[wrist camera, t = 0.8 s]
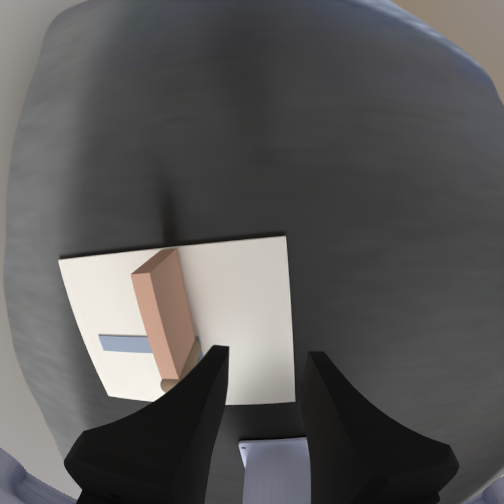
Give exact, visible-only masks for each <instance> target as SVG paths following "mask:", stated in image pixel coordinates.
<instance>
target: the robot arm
mask: <svg viewBox="0 0 504 504" xmlns="http://www.w3.org/2000/svg"><path fill="white" fill-rule="evenodd" d="M228 379H229V346H222V345H213V346H211V348H210V349H209V350H208V352H207V353H206V354H205V355H204V357H203V358H202V359H201V360H200V361H199V362H198V364H197V365H196V366H195V367H194V368H193V369H192V370H191V371H190V372H189V373H188V374H187V375H186V376H185V377H184V378H183V379H182V380H181V381H179V382H178V383H177V384H176V385H175V386H174V387H173V388H171V389H170V390H169V391H168V392H166V393H165V394H164V395H162V396H161V397H160V398H158V399H157V400H155V401H154V402H152V403H150V404H149V405H147V406H146V407H144V408H142V409H141V410H139V411H137V412H135V413H133V414H131V415H129V416H126V417H124V418H122V419H120V420H117V421H115V422H112V423H109V424H107V425H103V426H100V427H97V428H93V429H90V430H86V431H83V432H82V434H81V435H80V436H79V437H78V439H77V440H76V442H75V443H74V445H73V446H72V448H71V450H70V451H69V453H68V455H67V456H66V458H65V460H64V466H65V468H66V470H67V471H68V473H69V474H70V476H71V477H72V478H73V479H74V481H75V482H76V483H77V484H78V485H79V486H80V488H81V489H82V492H81V495H80V497H79V498H78V500H76V499H74V498H72V497H70V496H68V495H66V494H63V493H62V492H60V491H58V490H56V489H55V488H53V487H51V486H49V485H47V484H46V483H44V482H42V481H41V480H39V479H37V478H36V477H34V476H32V475H31V474H29V473H28V472H26V470H25V469H24V467H23V466H22V465H21V464H20V463H19V462H18V461H17V460H16V459H15V458H14V457H12V456H11V455H10V454H8V453H7V452H5V451H4V450H3V449H1V448H0V504H204V502H205V494H206V488H207V481H208V474H209V468H210V462H211V456H212V452H213V447H214V444H215V440H216V437H217V433H218V430H219V426H220V423H221V419H222V415H223V412H224V408H225V404H226V397H227V390H228ZM301 409H302V416H303V421H304V427H305V433H306V437H301V438H290V439H275V440H247V441H240V442H239V449H240V452H241V456H242V460H243V463H244V467H245V479H244V490H243V501H242V504H436V503H438V502H439V501H440V497H439V495H438V492H439V491H440V490H441V489H442V488H443V487H444V486H445V485H446V484H447V483H448V482H449V481H450V480H451V479H452V478H453V477H454V476H455V475H456V473H457V471H458V469H459V463H458V461H457V459H456V457H455V455H454V453H453V451H452V449H451V447H450V445H447V444H444V443H441V442H438V441H436V440H433V439H430V438H427V437H425V436H423V435H421V434H419V433H416V432H414V431H412V430H410V429H408V428H407V427H405V426H403V425H401V424H400V423H398V422H396V421H395V420H393V419H392V418H390V417H389V416H387V415H386V414H384V413H383V412H382V411H380V410H379V409H378V408H377V407H375V406H374V405H373V404H371V403H370V402H369V401H368V400H367V399H366V398H365V397H364V396H363V395H362V394H360V393H359V392H358V391H357V390H356V389H355V388H354V387H353V386H352V385H351V383H350V382H349V381H348V380H347V379H346V378H345V377H344V376H343V374H342V373H341V372H340V371H339V370H338V369H337V367H336V366H335V365H334V364H333V362H332V361H331V360H330V359H329V357H328V356H327V355H326V354H325V353H324V352H310V351H309V353H308V358H307V362H306V367H305V372H304V376H303V381H302V385H301ZM461 504H504V476H503V477H501V478H499V479H498V480H496V481H495V482H493V483H492V484H491V485H490V486H488V487H487V488H486V489H485V490H484V491H483V493H481V494H480V495H478V496H476V497H474V498H472V499H470V500H468V501H466V502H463V503H461Z"/></svg>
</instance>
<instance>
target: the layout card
mask: <svg viewBox="0 0 504 504" xmlns="http://www.w3.org/2000/svg"><path fill="white" fill-rule="evenodd" d="M174 248H177V252H178V257H179V263H180V268H181V274H182V279H183V284H184V289H185V294H186V298H187V303H188V308H189V312H190V317H191V321H192V326H193V330H194V334H195V340H197V341H198V342H199V343H200V345H201V352H200V355H199V358H201V359H202V358H203V357H204V355H205V354H206V353H207V352H208V350H209V349H210V348H211V346H213V345H222V346H229V379H228V390H227V397H226V404H225V405H247V404H269V403H284V402H295V379H294V355H293V335H292V316H291V300H290V285H289V270H288V257H287V244H286V236H276V237H265V238H255V239H244V240H234V241H223V242H213V243H203V244H194V245H184V246H174V247H165V248H155V249H146V250H137V251H128V252H119V253H110V254H101V255H92V256H84V257H75V258H67V259H60V260H58V262H59V266H60V269H61V273H62V277H63V280H64V284H65V287H66V291H67V294H68V297H69V300H70V303H71V306H72V309H73V312H74V315H75V318H76V321H77V324H78V327H79V329H80V332H81V335H82V337H83V340H84V342H85V345H86V347H87V350H88V352H89V354H90V357H91V359H92V361H93V364H94V366H95V368H96V370H97V373H98V375H99V377H100V379H101V381H102V383H103V385H104V387H105V389H106V391H107V393H108V395H109V396H113V397H119V398H127V399H135V400H143V401H153V402H154V401H155V400H157V399H158V398H160V397H161V396H162V395H164V394H165V392H164V391H163V390H162V389H161V386H160V383H161V380H162V378H161V376H160V373H159V370H158V367H157V364H156V362H155V359H154V356H153V353H152V350H151V347H150V343H149V340H148V337H147V334H146V331H145V327H144V324H143V321H142V317H141V314H140V310H139V306H138V303H137V299H136V295H135V291H134V287H133V283H132V279H131V275H130V274H131V273H133V272H134V271H135V270H136V269H138V268H139V267H140V266H141V265H143V264H144V263H145V262H146V261H148V260H149V259H150V258H151V257H153V256H154V255H155V254H156V253H158V252H159V251H160V250H164V249H174Z"/></svg>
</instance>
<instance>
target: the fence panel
mask: <svg viewBox="0 0 504 504" xmlns="http://www.w3.org/2000/svg"><path fill="white" fill-rule="evenodd" d="M130 275H131V279H132V283H133V287H134V291H135V295H136V299H137V303H138V306H139V310H140V314H141V317H142V321H143V324H144V327H145V331H146V334H147V337H148V340H149V343H150V347H151V350H152V353H153V356H154V359H155V362H156V364H157V367H158V370H159V373H160V376H161V378H162V380H161V383H160V386H161V389H162V390H163V391H164V392H165V393H166V392H168V391H169V390H170V389H171V388H173V387H174V386H175V385H176V384H177V383H178V382H179V381H181V380H182V379H183V378H184V377H185V376H186V375H187V374H188V373H189V372H190V371H191V370H192V369H193V368H194V367H195V366H196V363H197V360H198V358H199V355H200V352H201V345H200V343H199V342H198V341H197V340H195V334H194V330H193V326H192V321H191V317H190V312H189V308H188V303H187V298H186V294H185V289H184V284H183V279H182V274H181V268H180V263H179V257H178V252H177V248H174V249H164V250H160V251H159V252H158V253H156V254H155V255H154V256H153V257H151V258H150V259H149V260H148V261H146V262H145V263H144V264H143V265H141V266H140V267H139V268H138V269H136V270H135V271H134V272H133V273H131V274H130Z"/></svg>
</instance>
